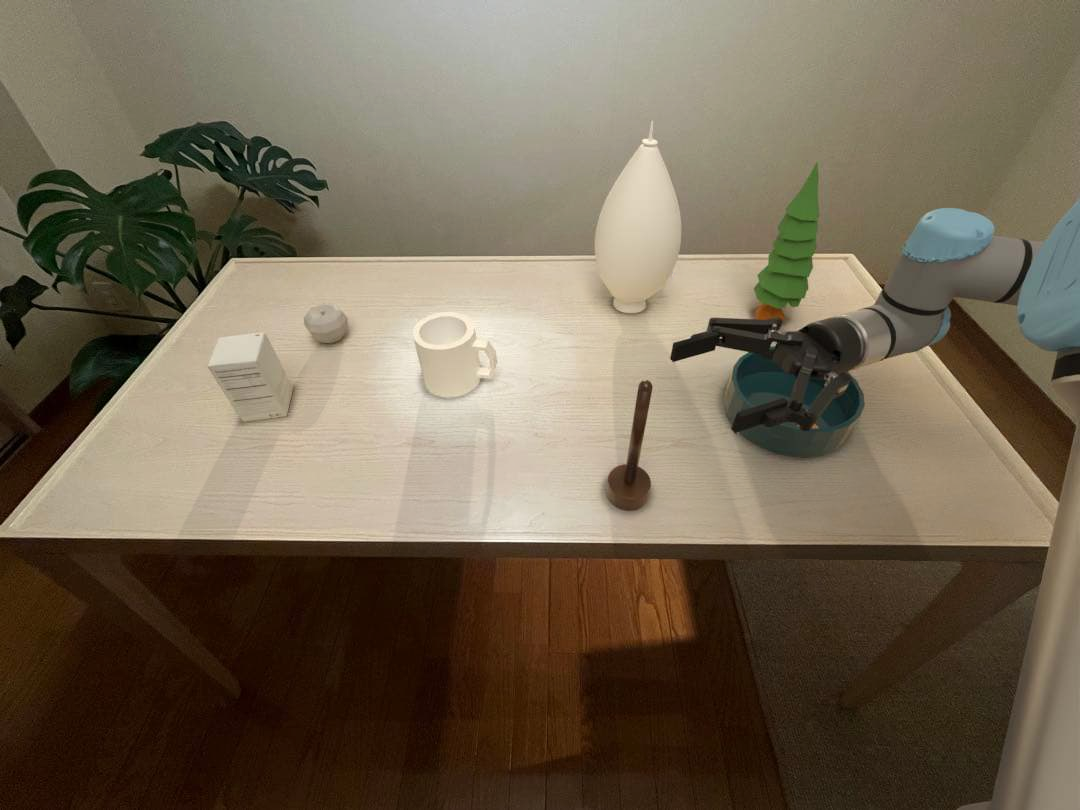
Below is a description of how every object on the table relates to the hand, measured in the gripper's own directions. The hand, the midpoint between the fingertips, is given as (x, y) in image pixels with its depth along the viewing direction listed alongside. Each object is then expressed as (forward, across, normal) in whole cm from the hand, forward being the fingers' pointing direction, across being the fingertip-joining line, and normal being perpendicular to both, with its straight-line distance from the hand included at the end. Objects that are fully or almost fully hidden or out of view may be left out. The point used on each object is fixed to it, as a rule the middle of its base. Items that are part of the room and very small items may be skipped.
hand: (701, 385), depth 64 cm
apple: (+45, +54, -19) cm, 73 cm away
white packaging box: (+57, +39, -19) cm, 71 cm away
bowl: (-24, +5, -18) cm, 30 cm away
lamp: (-14, +42, -18) cm, 48 cm away
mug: (+25, +33, -19) cm, 45 cm away
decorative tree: (-38, +27, -18) cm, 51 cm away
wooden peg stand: (+8, 0, -19) cm, 20 cm away
